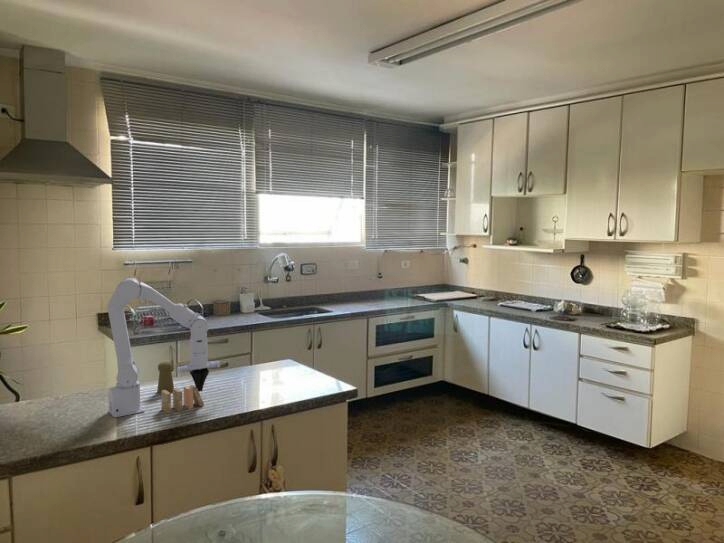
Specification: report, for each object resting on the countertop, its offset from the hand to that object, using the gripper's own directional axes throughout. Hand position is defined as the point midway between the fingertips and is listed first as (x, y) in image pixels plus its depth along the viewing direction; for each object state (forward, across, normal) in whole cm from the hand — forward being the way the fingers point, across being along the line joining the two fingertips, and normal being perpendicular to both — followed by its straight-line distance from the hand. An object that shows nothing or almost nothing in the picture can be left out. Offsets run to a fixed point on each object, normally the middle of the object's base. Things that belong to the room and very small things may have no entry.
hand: (199, 390), depth 188 cm
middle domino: (+5, +8, 0) cm, 9 cm away
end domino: (+5, 0, 0) cm, 5 cm away
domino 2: (+5, +4, 0) cm, 6 cm away
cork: (+5, +4, -21) cm, 22 cm away
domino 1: (+5, +11, 0) cm, 12 cm away
